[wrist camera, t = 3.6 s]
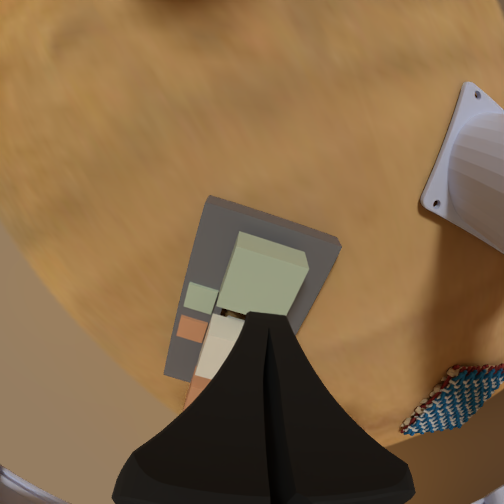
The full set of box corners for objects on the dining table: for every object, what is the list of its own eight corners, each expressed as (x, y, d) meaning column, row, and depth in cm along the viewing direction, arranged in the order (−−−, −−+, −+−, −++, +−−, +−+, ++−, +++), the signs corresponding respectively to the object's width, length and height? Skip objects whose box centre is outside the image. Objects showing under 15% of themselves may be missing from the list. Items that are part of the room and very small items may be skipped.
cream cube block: (272, 314, 16) (273, 351, 14) (253, 352, 18) (252, 389, 15) (216, 298, 16) (207, 334, 13) (203, 338, 17) (194, 374, 15)
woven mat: (392, 425, 26) (397, 440, 24) (449, 358, 21) (457, 374, 19) (455, 418, 26) (460, 430, 24) (507, 358, 22) (515, 370, 20)
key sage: (301, 240, 15) (309, 268, 13) (279, 290, 17) (281, 324, 14) (241, 220, 15) (236, 246, 12) (223, 274, 16) (216, 306, 14)
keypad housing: (336, 237, 16) (342, 248, 14) (257, 386, 21) (257, 400, 20) (209, 195, 15) (204, 203, 14) (167, 362, 21) (162, 376, 19)
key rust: (248, 363, 18) (246, 399, 16) (234, 390, 20) (231, 424, 17) (199, 350, 18) (191, 386, 15) (190, 379, 19) (182, 412, 17)
